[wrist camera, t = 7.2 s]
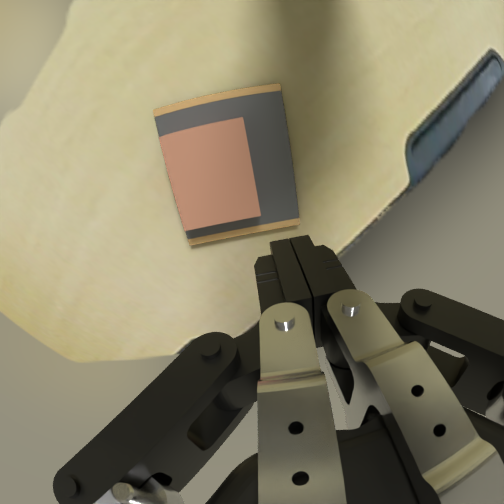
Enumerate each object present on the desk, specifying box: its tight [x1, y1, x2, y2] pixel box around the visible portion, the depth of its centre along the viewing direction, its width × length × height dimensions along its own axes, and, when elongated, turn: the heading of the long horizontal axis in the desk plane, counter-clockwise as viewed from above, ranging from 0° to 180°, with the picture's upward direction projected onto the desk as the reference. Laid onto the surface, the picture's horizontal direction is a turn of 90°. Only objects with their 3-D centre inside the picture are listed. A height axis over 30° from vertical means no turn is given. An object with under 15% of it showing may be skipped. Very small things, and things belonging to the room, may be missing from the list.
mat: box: [153, 83, 300, 245], centre depth 28 cm, size 16×13×1 cm
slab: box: [159, 117, 261, 231], centre depth 26 cm, size 10×3×8 cm
